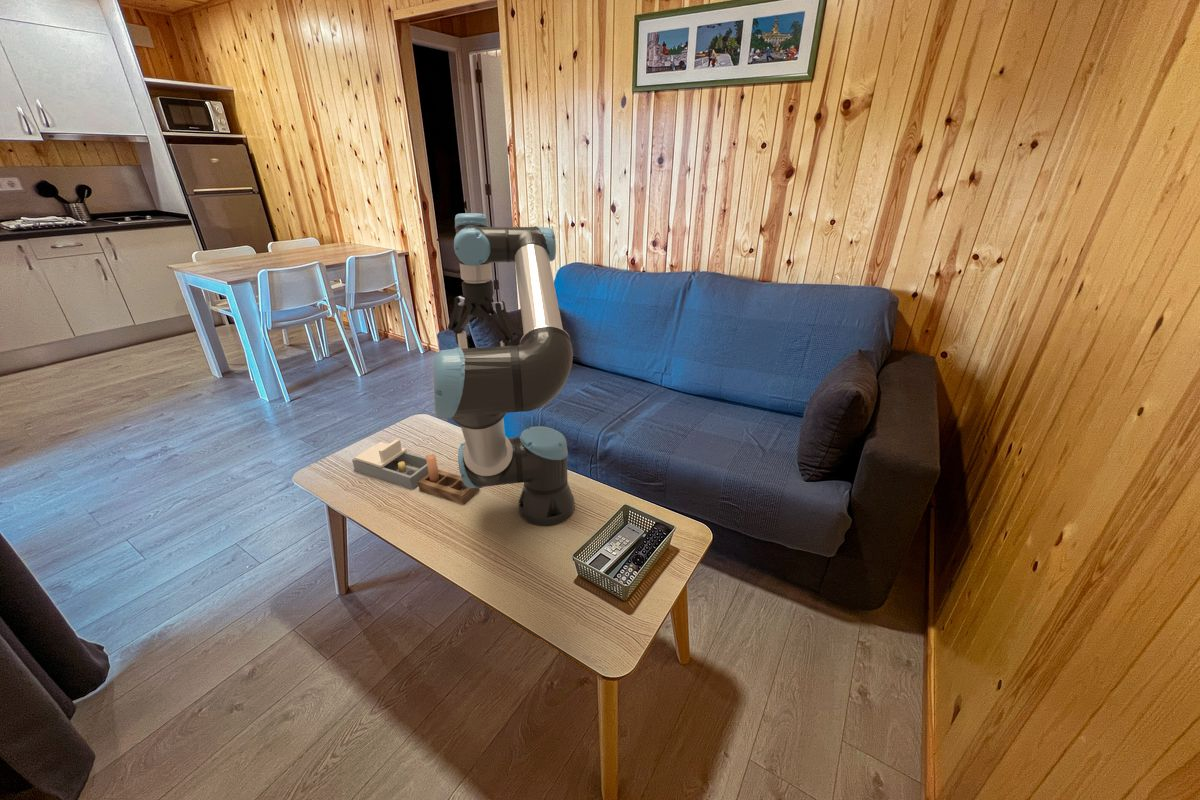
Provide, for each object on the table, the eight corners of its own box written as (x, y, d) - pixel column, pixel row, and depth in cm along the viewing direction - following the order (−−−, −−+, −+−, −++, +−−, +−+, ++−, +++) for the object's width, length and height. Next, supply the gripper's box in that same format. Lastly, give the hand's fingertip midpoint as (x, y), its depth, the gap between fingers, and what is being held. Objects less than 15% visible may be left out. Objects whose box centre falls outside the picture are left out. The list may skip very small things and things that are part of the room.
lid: (406, 451, 143) (404, 437, 140) (381, 468, 134) (378, 454, 132) (381, 443, 146) (378, 430, 144) (354, 459, 138) (351, 446, 136)
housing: (436, 471, 141) (434, 460, 139) (412, 489, 132) (410, 478, 131) (380, 454, 148) (378, 443, 147) (354, 470, 140) (351, 459, 138)
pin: (442, 484, 135) (437, 455, 130) (436, 489, 133) (431, 460, 128) (435, 482, 136) (430, 453, 131) (429, 487, 133) (423, 458, 129)
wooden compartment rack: (479, 490, 133) (478, 481, 132) (463, 504, 127) (462, 495, 126) (436, 476, 138) (435, 468, 137) (419, 490, 132) (417, 481, 131)
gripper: (528, 282, 114) (532, 362, 123) (446, 272, 123) (456, 348, 132) (511, 288, 108) (517, 372, 117) (426, 277, 116) (438, 356, 126)
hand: (484, 359), depth 125 cm, fingers open, 13 cm apart
